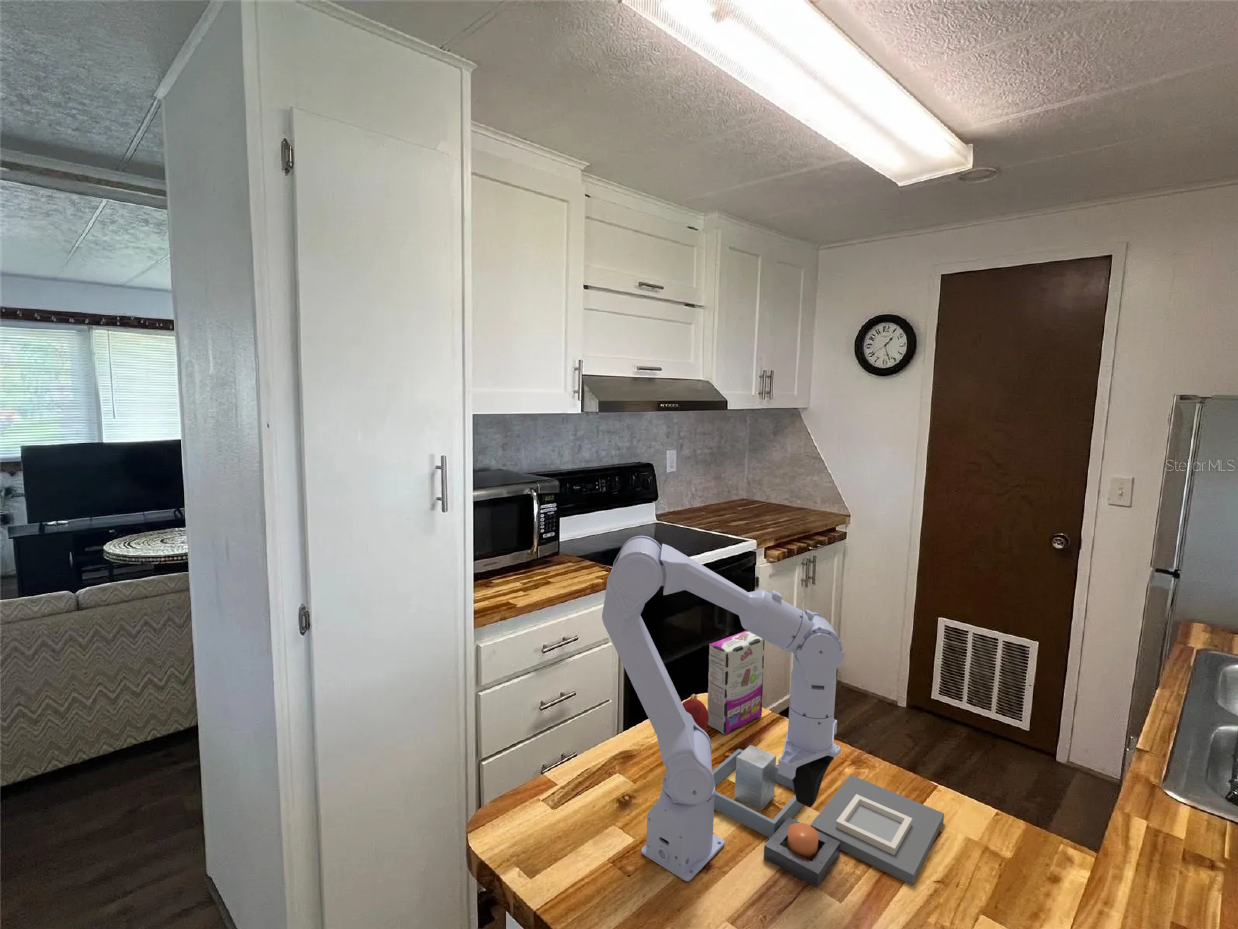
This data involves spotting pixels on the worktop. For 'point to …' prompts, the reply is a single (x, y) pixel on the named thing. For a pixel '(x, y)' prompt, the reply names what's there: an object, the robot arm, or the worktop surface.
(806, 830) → the button
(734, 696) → the candy bar box
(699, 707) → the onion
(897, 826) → the board
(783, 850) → the button collar
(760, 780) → the block
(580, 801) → the worktop surface
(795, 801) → the tote
